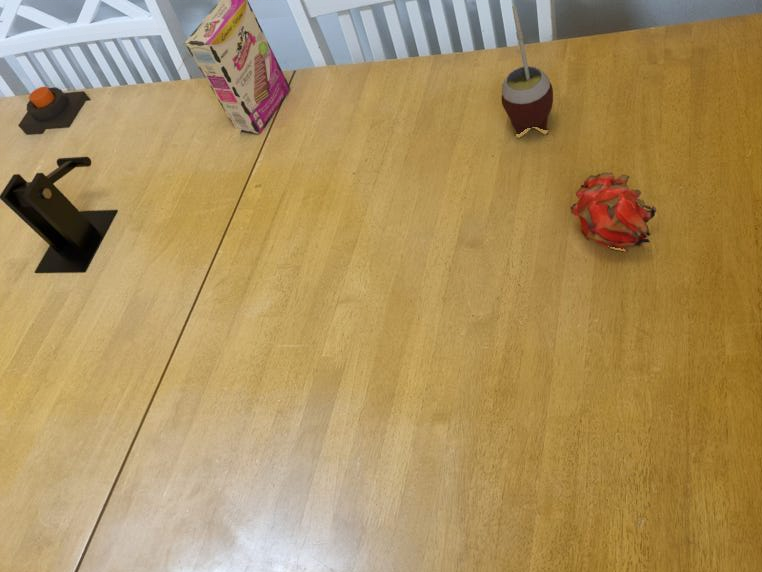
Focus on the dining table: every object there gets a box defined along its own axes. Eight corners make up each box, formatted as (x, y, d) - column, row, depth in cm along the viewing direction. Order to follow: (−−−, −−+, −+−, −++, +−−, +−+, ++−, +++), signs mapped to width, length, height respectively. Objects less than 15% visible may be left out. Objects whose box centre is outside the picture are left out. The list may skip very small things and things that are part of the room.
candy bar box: (261, 135, 116) (209, 45, 103) (236, 132, 118) (181, 43, 105) (293, 88, 121) (247, -4, 108) (268, 86, 123) (220, -5, 109)
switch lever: (67, 168, 111) (59, 153, 110) (94, 166, 110) (86, 151, 109) (13, 207, 103) (3, 191, 101) (42, 206, 101) (33, 190, 100)
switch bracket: (73, 216, 115) (14, 155, 105) (122, 214, 113) (66, 152, 103) (39, 277, 109) (-27, 218, 99) (89, 276, 107) (27, 217, 97)
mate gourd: (532, 149, 102) (514, 56, 90) (494, 127, 106) (472, 35, 94) (569, 119, 104) (557, 23, 91) (531, 98, 108) (514, 4, 95)
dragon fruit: (587, 209, 96) (646, 270, 91) (542, 214, 91) (603, 279, 86) (619, 154, 91) (685, 216, 86) (575, 156, 85) (641, 222, 80)
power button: (32, 109, 128) (25, 101, 126) (41, 95, 130) (34, 87, 128) (49, 108, 127) (42, 99, 126) (58, 94, 129) (51, 85, 127)
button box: (26, 135, 131) (10, 117, 127) (46, 104, 135) (31, 86, 131) (73, 131, 128) (57, 113, 125) (92, 101, 132) (77, 82, 129)
